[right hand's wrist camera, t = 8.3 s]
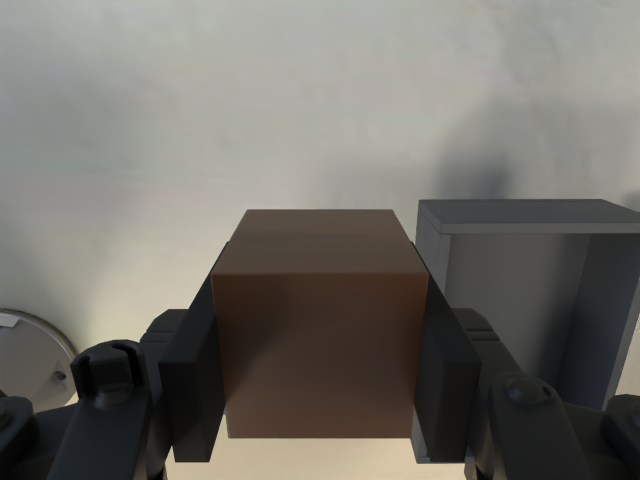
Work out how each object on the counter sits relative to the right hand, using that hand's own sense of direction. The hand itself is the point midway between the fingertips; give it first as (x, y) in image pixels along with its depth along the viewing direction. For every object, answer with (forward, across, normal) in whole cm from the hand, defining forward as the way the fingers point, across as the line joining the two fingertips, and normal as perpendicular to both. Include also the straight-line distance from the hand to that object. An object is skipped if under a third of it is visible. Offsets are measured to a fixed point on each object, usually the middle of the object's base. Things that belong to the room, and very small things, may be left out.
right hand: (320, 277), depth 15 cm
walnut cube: (0, 0, 0) cm, 0 cm away
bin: (+20, -16, +16) cm, 30 cm away
